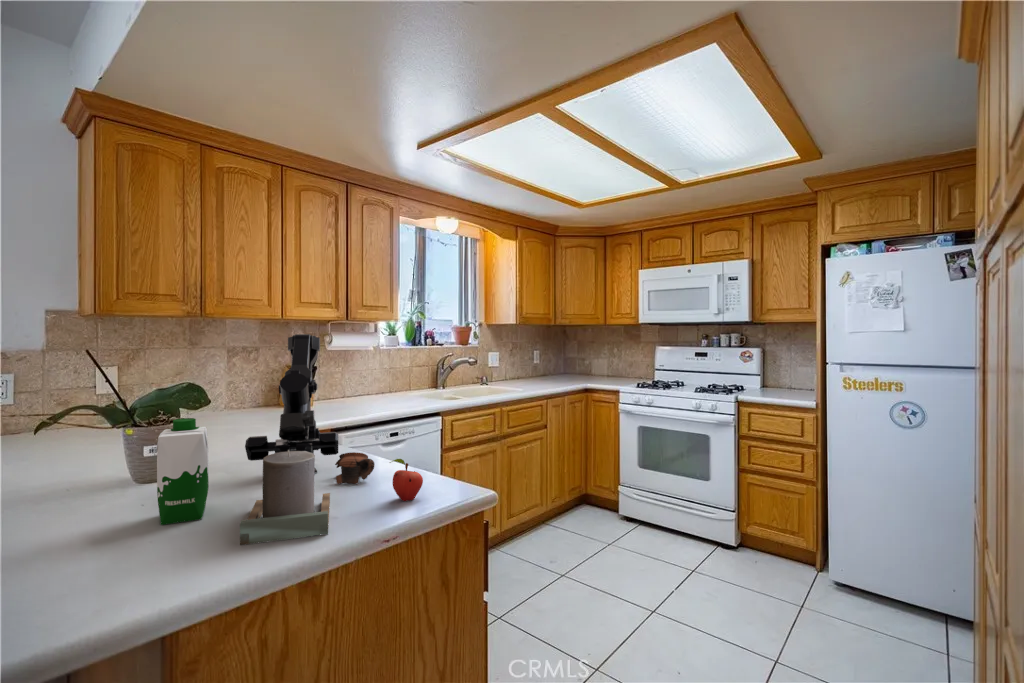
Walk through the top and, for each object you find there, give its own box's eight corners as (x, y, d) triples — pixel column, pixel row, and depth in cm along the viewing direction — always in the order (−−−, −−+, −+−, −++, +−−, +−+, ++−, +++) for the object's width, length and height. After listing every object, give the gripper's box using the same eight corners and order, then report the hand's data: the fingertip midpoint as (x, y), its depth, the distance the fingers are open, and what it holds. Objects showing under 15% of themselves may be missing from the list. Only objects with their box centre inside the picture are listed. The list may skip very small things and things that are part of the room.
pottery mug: (324, 485, 124) (328, 454, 128) (349, 492, 132) (352, 462, 136) (362, 478, 120) (365, 446, 124) (386, 486, 128) (388, 455, 132)
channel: (256, 509, 106) (256, 491, 106) (329, 501, 111) (329, 484, 111) (239, 545, 89) (239, 523, 89) (327, 534, 94) (327, 513, 94)
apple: (408, 492, 118) (408, 451, 118) (428, 498, 114) (428, 456, 114) (383, 501, 112) (383, 458, 112) (403, 507, 108) (404, 463, 108)
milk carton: (210, 506, 108) (209, 416, 107) (206, 520, 100) (205, 423, 99) (161, 512, 104) (161, 419, 103) (153, 528, 96) (153, 427, 95)
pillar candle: (250, 531, 95) (251, 455, 94) (281, 512, 104) (281, 443, 104) (297, 535, 93) (298, 457, 93) (323, 516, 103) (324, 445, 103)
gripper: (246, 399, 105) (236, 463, 95) (338, 396, 111) (338, 456, 101) (252, 429, 113) (243, 491, 102) (338, 424, 119) (338, 483, 108)
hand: (291, 480), depth 103 cm, fingers closed, pressing on pillar candle
